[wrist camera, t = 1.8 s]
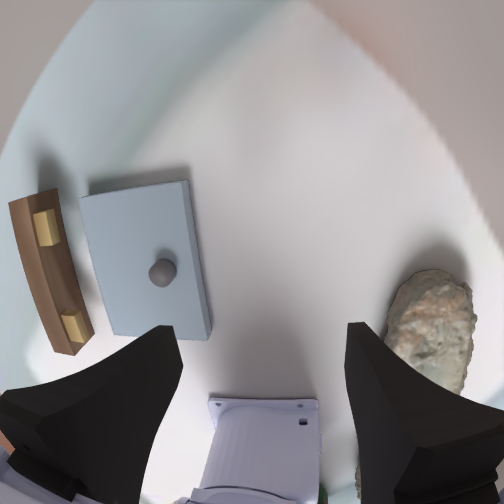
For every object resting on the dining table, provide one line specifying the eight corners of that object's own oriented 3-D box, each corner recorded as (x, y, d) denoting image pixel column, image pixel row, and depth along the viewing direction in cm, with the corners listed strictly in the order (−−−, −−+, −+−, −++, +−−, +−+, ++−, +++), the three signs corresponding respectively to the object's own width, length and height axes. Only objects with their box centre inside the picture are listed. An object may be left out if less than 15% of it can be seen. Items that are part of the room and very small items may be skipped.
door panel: (190, 178, 19) (175, 184, 17) (213, 326, 23) (204, 348, 20) (92, 193, 21) (69, 201, 18) (123, 323, 24) (108, 341, 22)
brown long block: (69, 185, 20) (39, 194, 17) (107, 335, 24) (87, 358, 21) (37, 193, 21) (8, 202, 17) (75, 331, 25) (54, 352, 21)
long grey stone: (476, 251, 19) (359, 265, 22) (510, 274, 14) (372, 295, 17) (416, 489, 28) (349, 499, 31) (420, 517, 23) (348, 529, 26)
